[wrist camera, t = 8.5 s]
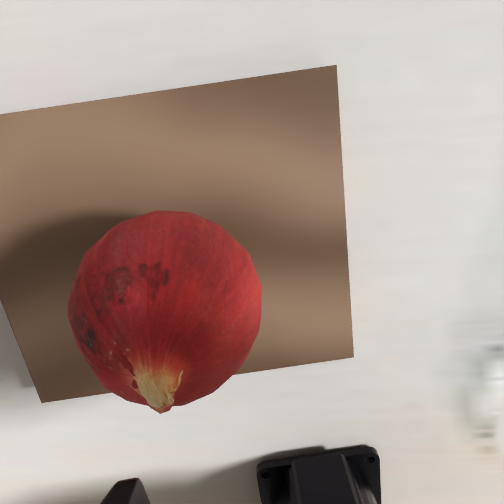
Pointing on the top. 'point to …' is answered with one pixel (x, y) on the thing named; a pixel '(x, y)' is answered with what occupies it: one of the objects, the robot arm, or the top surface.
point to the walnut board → (180, 208)
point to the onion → (165, 308)
